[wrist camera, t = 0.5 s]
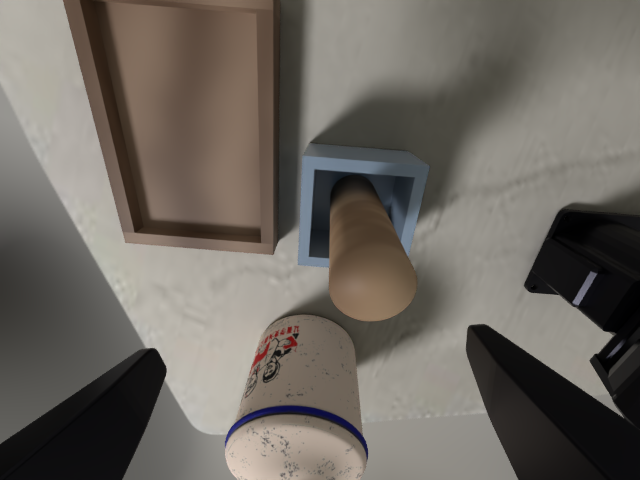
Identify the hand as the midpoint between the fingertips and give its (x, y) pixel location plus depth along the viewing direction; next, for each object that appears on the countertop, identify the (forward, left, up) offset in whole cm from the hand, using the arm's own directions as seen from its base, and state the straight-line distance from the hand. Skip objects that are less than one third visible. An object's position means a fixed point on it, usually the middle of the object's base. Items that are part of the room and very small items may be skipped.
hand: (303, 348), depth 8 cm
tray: (+8, -4, -13) cm, 15 cm away
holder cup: (-2, -1, -13) cm, 13 cm away
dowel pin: (-2, -1, -12) cm, 12 cm away
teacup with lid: (+1, +15, -13) cm, 20 cm away
